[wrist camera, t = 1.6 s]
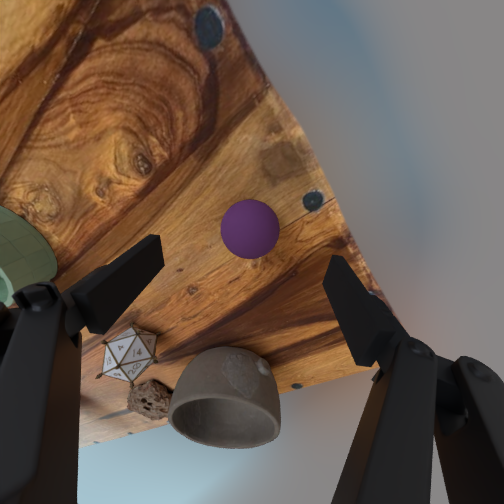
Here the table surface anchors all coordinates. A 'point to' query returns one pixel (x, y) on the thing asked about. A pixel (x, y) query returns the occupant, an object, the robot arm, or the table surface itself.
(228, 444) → the bowl
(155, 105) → the table surface
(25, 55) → the table surface
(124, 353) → the game die
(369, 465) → the robot arm
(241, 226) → the plum ball
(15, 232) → the green bowl
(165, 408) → the rock
